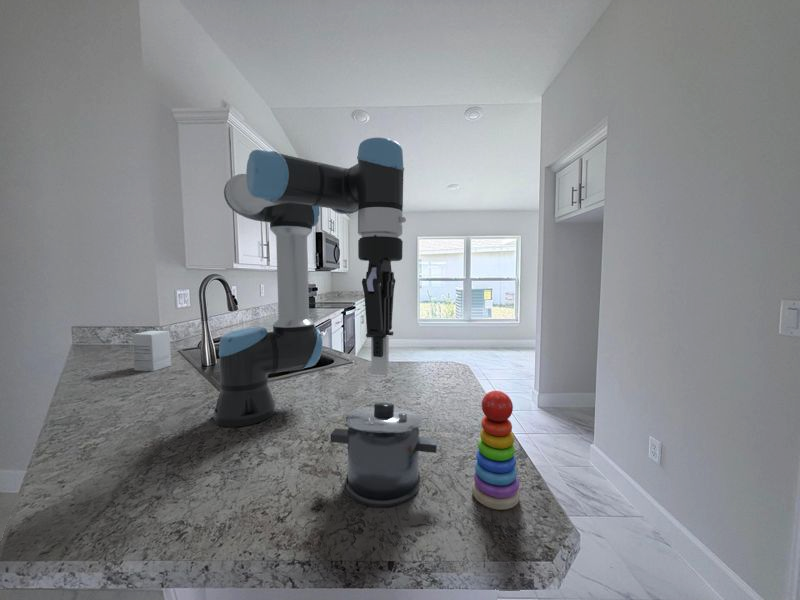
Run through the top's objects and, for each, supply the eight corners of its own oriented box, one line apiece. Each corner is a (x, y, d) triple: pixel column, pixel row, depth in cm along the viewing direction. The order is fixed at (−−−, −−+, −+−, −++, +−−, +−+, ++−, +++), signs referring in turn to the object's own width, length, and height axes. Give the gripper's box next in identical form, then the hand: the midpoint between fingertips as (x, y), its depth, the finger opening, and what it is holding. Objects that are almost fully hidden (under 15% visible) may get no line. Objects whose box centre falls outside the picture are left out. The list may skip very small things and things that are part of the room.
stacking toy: (466, 483, 60) (468, 383, 59) (507, 480, 61) (510, 382, 59) (480, 514, 52) (482, 400, 51) (528, 511, 53) (531, 398, 52)
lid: (332, 432, 54) (333, 410, 54) (360, 412, 69) (360, 394, 69) (416, 441, 51) (416, 417, 52) (426, 417, 66) (426, 399, 66)
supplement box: (153, 364, 139) (151, 330, 138) (172, 365, 138) (170, 330, 137) (133, 370, 130) (131, 333, 129) (152, 371, 129) (151, 334, 128)
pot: (318, 499, 55) (317, 442, 55) (346, 456, 69) (345, 410, 68) (432, 515, 52) (433, 455, 51) (439, 466, 65) (439, 418, 64)
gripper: (393, 231, 48) (392, 387, 50) (409, 241, 61) (407, 364, 63) (345, 232, 50) (346, 383, 51) (370, 241, 62) (370, 362, 64)
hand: (379, 373), depth 57 cm, fingers closed
